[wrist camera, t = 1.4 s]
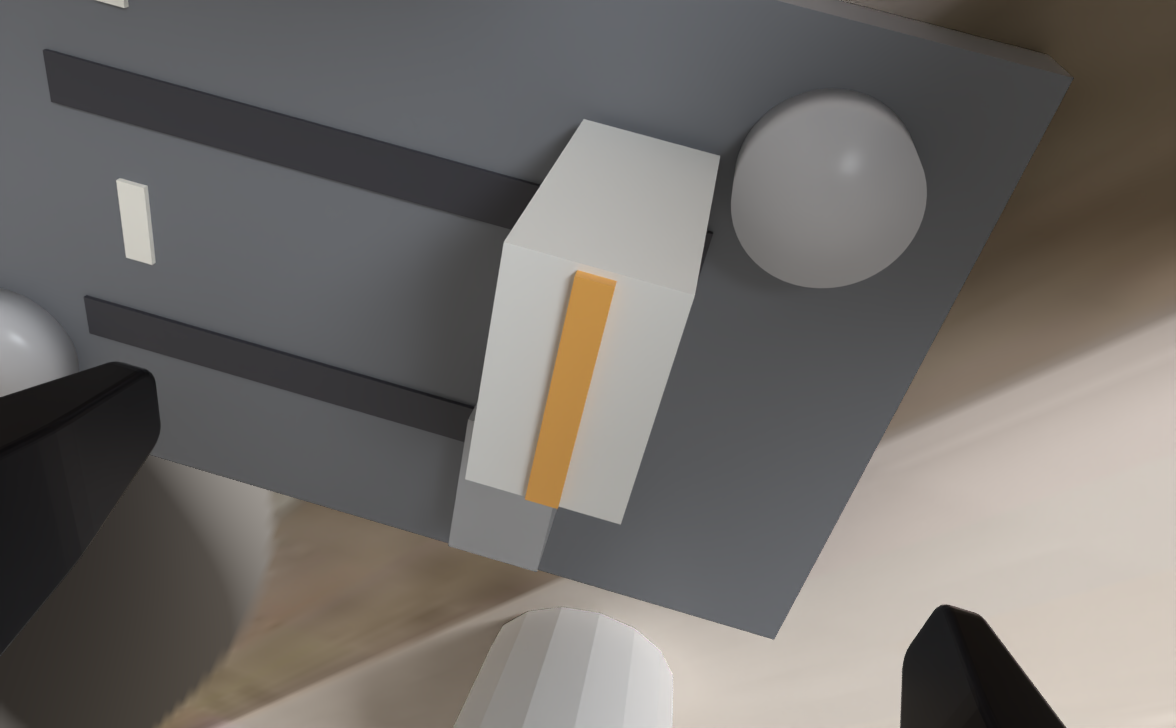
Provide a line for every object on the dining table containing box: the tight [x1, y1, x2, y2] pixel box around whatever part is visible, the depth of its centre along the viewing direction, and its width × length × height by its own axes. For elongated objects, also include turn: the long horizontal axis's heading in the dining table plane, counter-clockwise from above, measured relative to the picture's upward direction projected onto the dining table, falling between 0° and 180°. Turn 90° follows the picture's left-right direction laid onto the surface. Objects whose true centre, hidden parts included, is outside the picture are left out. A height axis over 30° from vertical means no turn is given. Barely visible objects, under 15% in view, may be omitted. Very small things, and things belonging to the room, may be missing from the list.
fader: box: [465, 119, 720, 525], centre depth 13 cm, size 2×4×5 cm, turn 168°
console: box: [0, 0, 1073, 639], centre depth 17 cm, size 22×14×4 cm, turn 78°
